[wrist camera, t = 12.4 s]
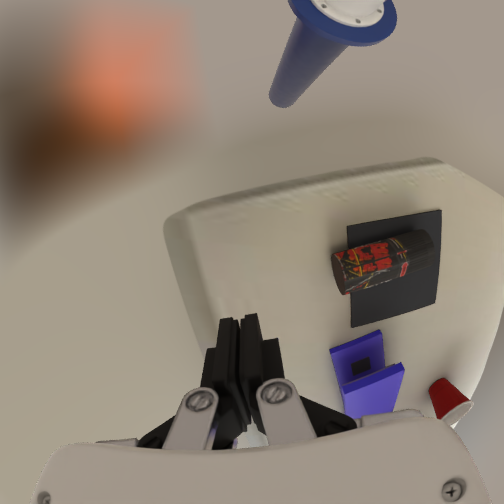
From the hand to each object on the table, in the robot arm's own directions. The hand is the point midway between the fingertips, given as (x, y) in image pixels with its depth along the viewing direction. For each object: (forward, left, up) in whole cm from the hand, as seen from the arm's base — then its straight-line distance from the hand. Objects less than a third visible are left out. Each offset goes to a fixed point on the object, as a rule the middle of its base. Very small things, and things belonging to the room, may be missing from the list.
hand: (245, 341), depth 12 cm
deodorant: (+10, +11, -24) cm, 28 cm away
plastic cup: (+51, +40, -27) cm, 70 cm away
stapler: (+39, +17, -27) cm, 51 cm away
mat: (+13, +23, -27) cm, 38 cm away
